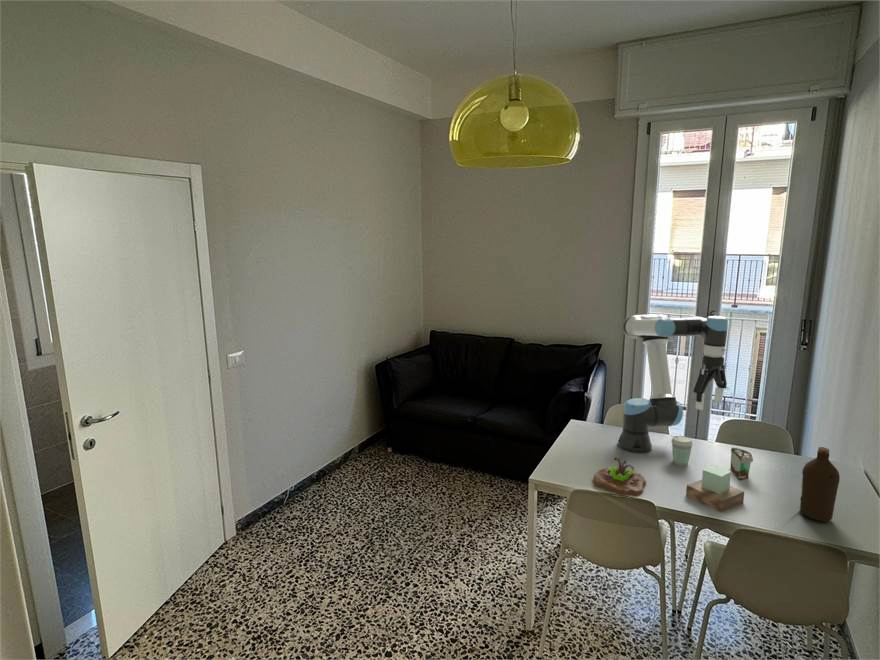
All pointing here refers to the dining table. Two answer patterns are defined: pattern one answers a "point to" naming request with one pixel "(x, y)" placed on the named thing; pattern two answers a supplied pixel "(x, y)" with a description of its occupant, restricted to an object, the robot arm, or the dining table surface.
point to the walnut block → (715, 496)
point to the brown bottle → (819, 487)
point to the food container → (740, 463)
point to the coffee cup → (681, 450)
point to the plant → (620, 480)
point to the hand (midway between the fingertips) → (708, 406)
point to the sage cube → (716, 479)
